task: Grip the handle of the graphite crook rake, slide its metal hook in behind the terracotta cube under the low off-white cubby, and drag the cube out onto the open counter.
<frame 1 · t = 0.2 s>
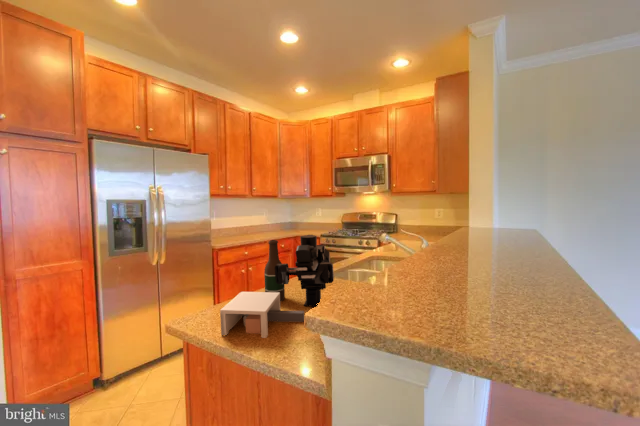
hand: (298, 282, 83), 16 cm above the worktop, tool horizontal, fingers open, 9 cm apart
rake: (275, 320, 96), on the worktop
cube: (255, 329, 90), on the worktop
beer bottle: (275, 300, 115), on the worktop
cubby: (253, 324, 93), on the worktop
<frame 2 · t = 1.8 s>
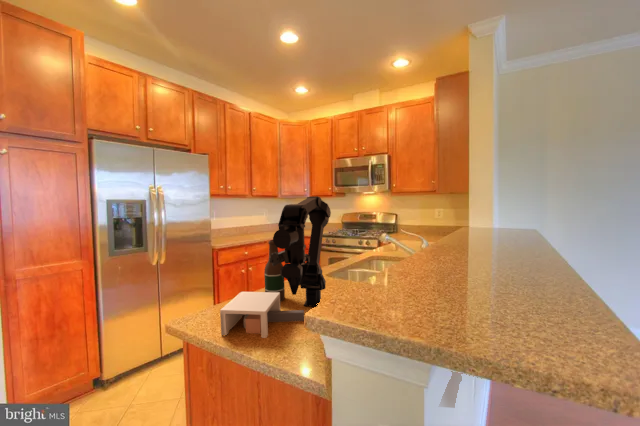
hand: (297, 289, 95), 11 cm above the worktop, tool pointing down, fingers open, 9 cm apart
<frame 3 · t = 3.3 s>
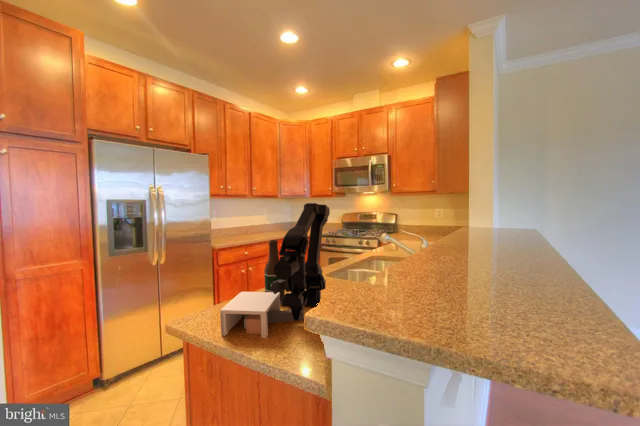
hand: (297, 317, 95), 1 cm above the worktop, tool pointing down, fingers open, 5 cm apart
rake: (275, 320, 96), on the worktop, touching gripper
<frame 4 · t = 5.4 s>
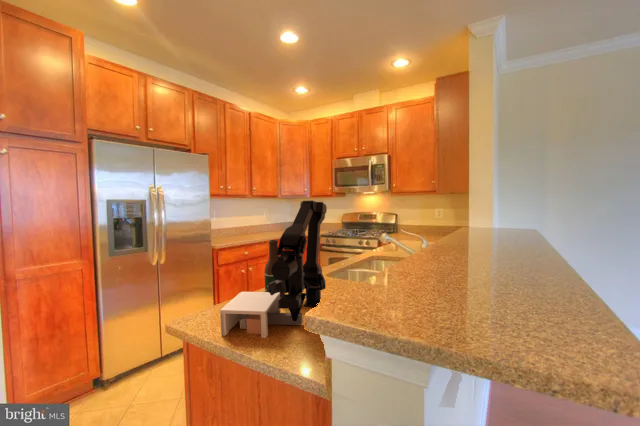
hand: (295, 319, 92), 2 cm above the worktop, tool pointing down, fingers closed on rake, 2 cm apart
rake: (273, 322, 93), on the worktop, touching gripper
everything else where it was.
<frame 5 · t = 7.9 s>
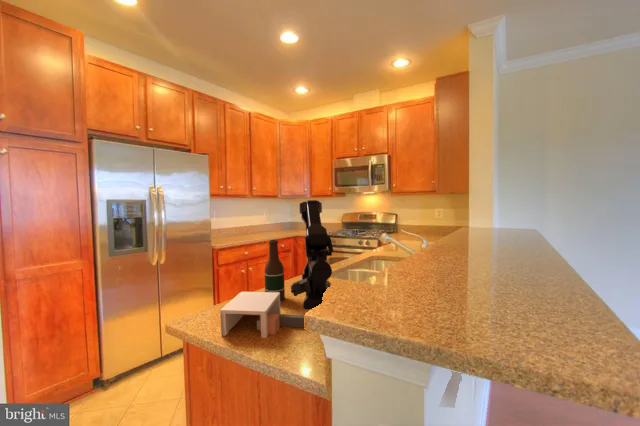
hand: (318, 320, 91), 2 cm above the worktop, tool pointing down, fingers closed, pressing on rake
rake: (290, 324, 92), on the worktop, touching gripper
cube: (270, 330, 89), on the worktop
everything else where it was.
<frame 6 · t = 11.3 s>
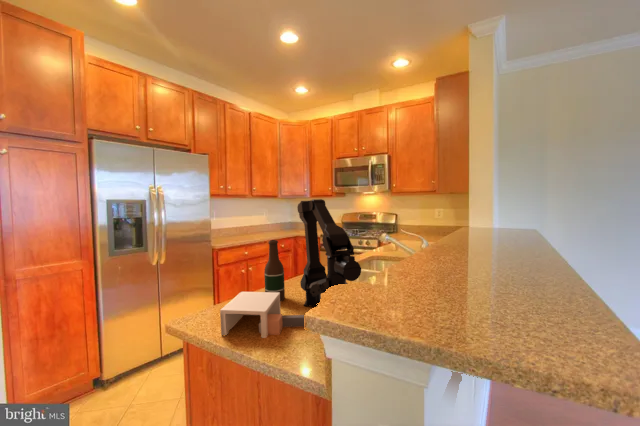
hand: (337, 320, 90), 2 cm above the worktop, tool pointing down, fingers open, 7 cm apart
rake: (291, 325, 92), on the worktop
cube: (273, 331, 89), on the worktop
everything else where it was.
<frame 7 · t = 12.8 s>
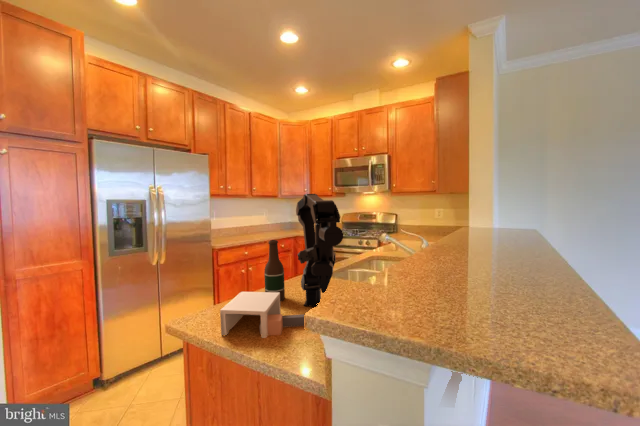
hand: (325, 287, 92), 12 cm above the worktop, tool pointing down, fingers open, 9 cm apart
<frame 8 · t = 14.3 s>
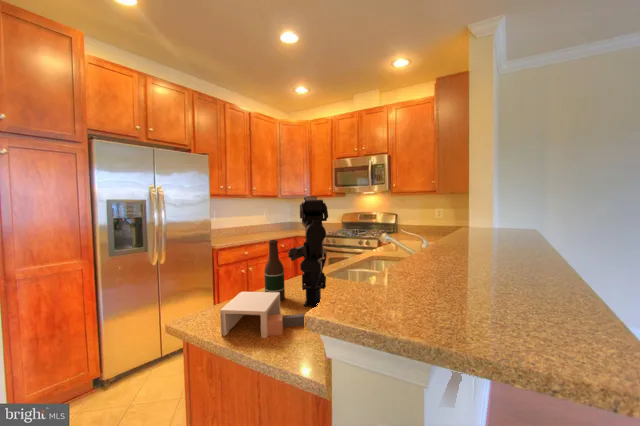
hand: (315, 284, 95), 12 cm above the worktop, tool pointing down, fingers open, 9 cm apart
nothing on the worktop moved.
at the end: cube inside the target area (5.2 cm from its centre), on the worktop; cube tilted 0°; the gripper is holding nothing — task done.
